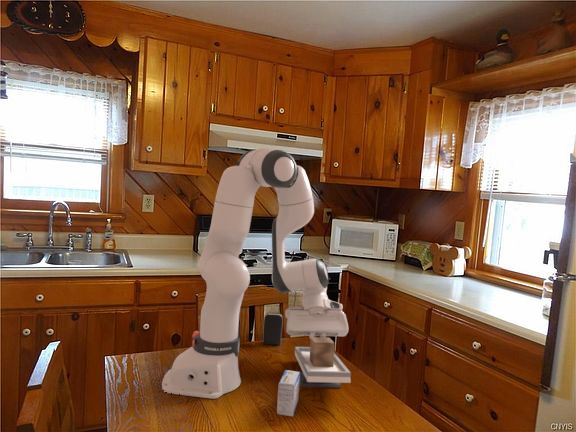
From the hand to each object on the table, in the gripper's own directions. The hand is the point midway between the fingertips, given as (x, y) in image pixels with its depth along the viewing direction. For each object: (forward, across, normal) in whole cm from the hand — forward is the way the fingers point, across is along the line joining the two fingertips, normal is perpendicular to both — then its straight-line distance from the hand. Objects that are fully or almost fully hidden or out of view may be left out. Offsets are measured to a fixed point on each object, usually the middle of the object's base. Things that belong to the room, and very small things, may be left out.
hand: (318, 347), depth 127 cm
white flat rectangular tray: (+6, 0, 0) cm, 6 cm away
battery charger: (-11, -13, +24) cm, 29 cm away
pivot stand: (+9, 0, +3) cm, 10 cm away
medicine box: (+20, -11, -7) cm, 24 cm away
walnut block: (+5, 0, -1) cm, 6 cm away
